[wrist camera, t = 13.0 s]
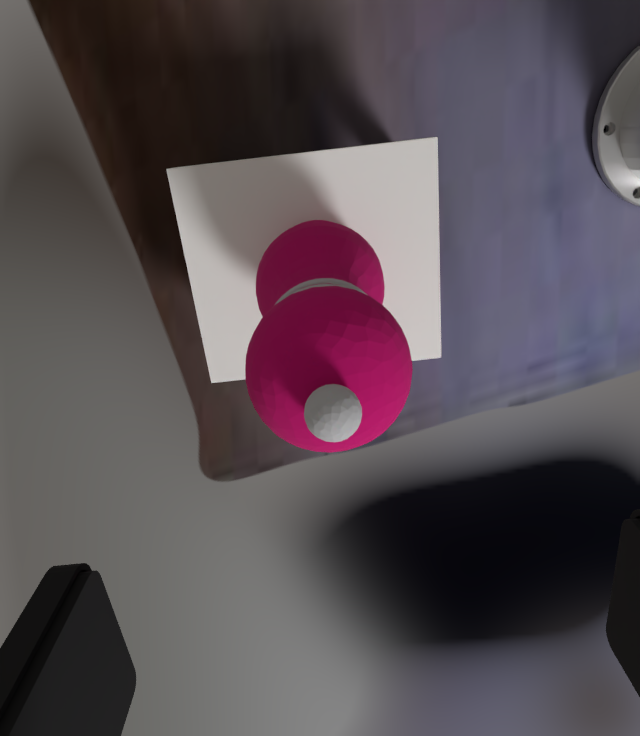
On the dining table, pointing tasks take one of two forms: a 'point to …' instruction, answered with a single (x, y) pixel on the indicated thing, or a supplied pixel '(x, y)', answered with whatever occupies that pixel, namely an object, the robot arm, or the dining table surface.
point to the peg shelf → (300, 204)
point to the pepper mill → (325, 341)
